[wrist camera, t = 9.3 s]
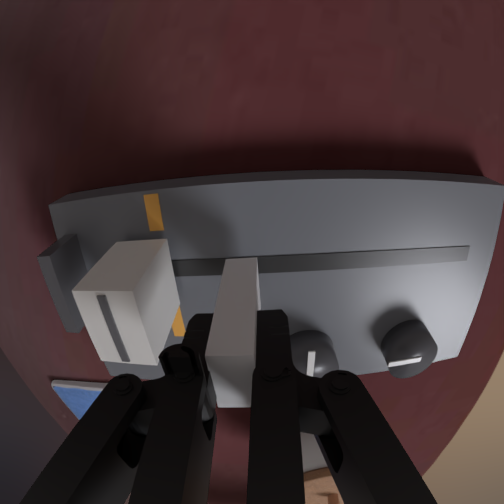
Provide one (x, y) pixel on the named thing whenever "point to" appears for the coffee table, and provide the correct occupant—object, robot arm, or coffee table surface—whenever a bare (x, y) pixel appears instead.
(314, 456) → the lidded jar
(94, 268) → the fader tab
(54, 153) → the coffee table surface
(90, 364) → the coffee table surface
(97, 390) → the tablet computer
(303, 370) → the console
